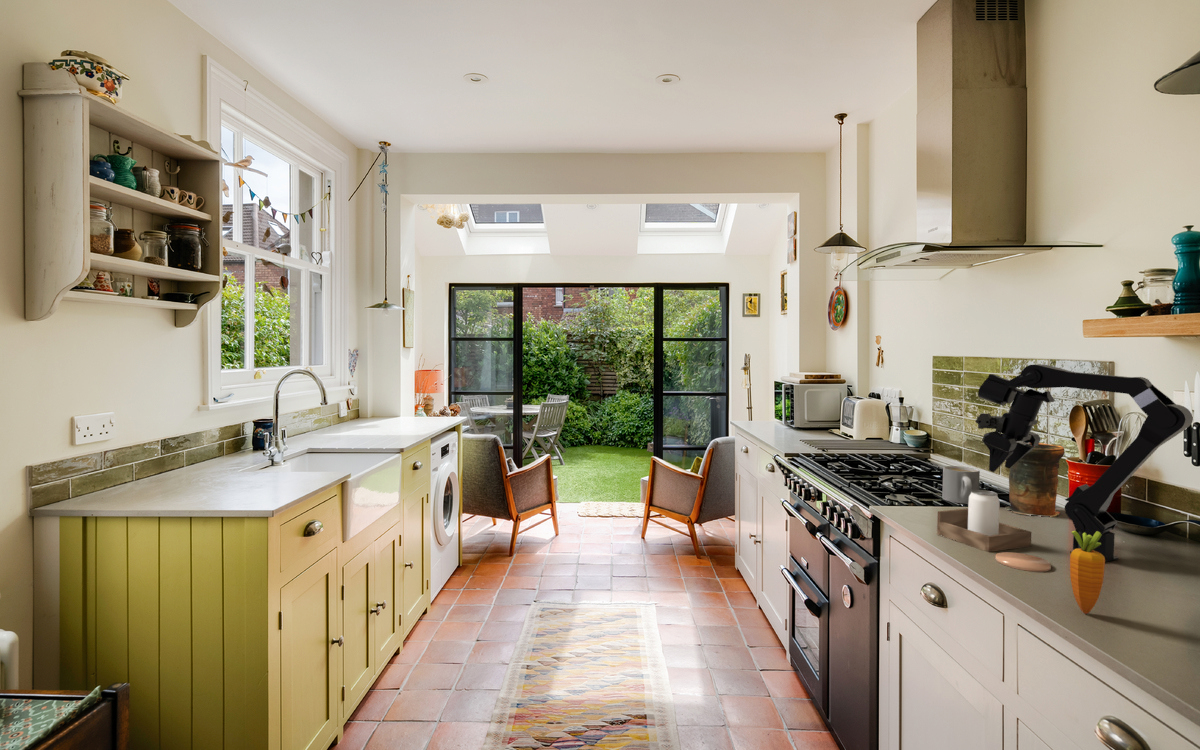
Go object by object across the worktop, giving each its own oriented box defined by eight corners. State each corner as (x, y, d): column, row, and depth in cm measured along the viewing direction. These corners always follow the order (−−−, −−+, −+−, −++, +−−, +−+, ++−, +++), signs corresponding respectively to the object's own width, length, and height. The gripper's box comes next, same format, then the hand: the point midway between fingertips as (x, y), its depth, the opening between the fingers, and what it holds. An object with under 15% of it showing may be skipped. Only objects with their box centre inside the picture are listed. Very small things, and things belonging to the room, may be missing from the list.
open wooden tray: (1031, 546, 144) (1031, 521, 144) (988, 551, 139) (989, 526, 139) (977, 529, 157) (978, 507, 157) (937, 534, 152) (937, 511, 152)
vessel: (1068, 520, 166) (1068, 449, 166) (1006, 514, 173) (1006, 446, 173) (1060, 509, 179) (1060, 443, 178) (1002, 504, 186) (1002, 440, 185)
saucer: (1062, 568, 129) (1062, 564, 129) (1029, 573, 125) (1029, 570, 125) (1016, 553, 138) (1016, 550, 138) (984, 558, 135) (984, 554, 135)
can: (989, 536, 151) (990, 489, 151) (1003, 544, 145) (1005, 495, 144) (962, 535, 152) (963, 489, 151) (975, 543, 145) (977, 495, 145)
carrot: (1061, 610, 107) (1064, 527, 107) (1079, 606, 109) (1082, 525, 109) (1092, 621, 103) (1095, 535, 102) (1110, 617, 105) (1113, 532, 104)
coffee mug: (941, 494, 197) (942, 464, 196) (977, 498, 192) (978, 467, 192) (943, 503, 185) (944, 471, 185) (981, 507, 180) (982, 474, 180)
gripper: (1004, 399, 159) (983, 452, 163) (972, 402, 148) (950, 458, 153) (1051, 415, 150) (1027, 471, 155) (1020, 420, 140) (996, 479, 144)
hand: (999, 469), depth 152 cm, fingers open, 9 cm apart
